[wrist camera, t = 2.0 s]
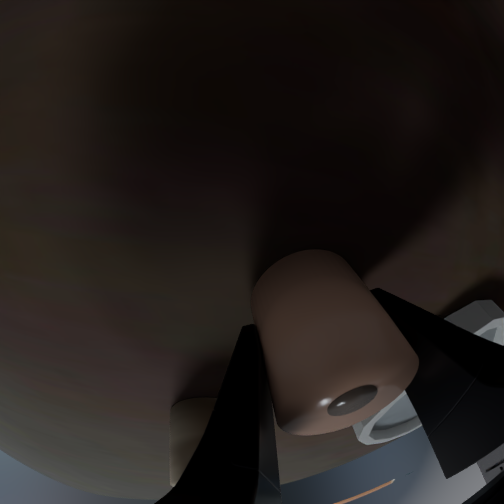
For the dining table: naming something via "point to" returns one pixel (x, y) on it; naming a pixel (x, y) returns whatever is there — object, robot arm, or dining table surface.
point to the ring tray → (401, 409)
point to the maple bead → (187, 431)
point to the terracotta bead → (326, 344)
